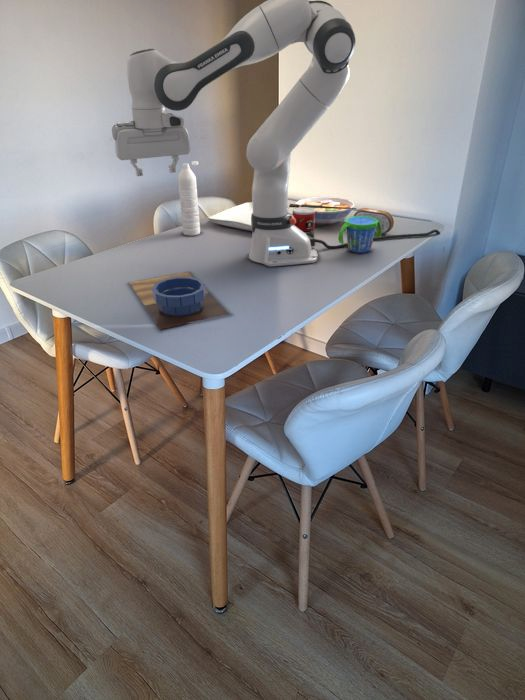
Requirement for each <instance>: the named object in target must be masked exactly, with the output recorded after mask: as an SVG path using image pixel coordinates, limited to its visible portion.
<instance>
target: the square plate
mask: <svg viewBox="0 0 525 700" xmlns="http://www.w3.org/2000/svg"><path fill="white" fill-rule="evenodd" d="M293 209H294V208H291V207H288V213H290V214H291V213H292V215H293ZM252 213H253V207H252V202H249V201H248V202H244V203H241V204H239V205H236V206H232V207H230V208H227V209H225V210H222V211H220V212H217V213H215V214H212V215H210V216H207V218H206V219H208V220H209V222H212V223H213V224H216V225H222V226H223V227H228V228H234V229H238V230H243V231H248V232H252V229H251V215H252Z"/></svg>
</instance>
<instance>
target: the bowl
mask: <svg viewBox="0 0 525 700" xmlns="http://www.w3.org/2000/svg"><path fill="white" fill-rule="evenodd" d="M192 277H193V276H192ZM192 277H174V278H169V279H164V280H162V281H160V282H158V283H156V284H155V285H154V286H153V288H152V293H153V299H154V300H155V302H156V303H157V304H158V309H159V310H161V311H162V312H163V313H164V314H167V315H171V316H185V315H190V314H193V313H195V312H196V311H198V310H199V309H201V307H202V304H203V299H204V298H205V295H206V291H207V288H206V283H205V282H204V281H203V280H202V279H200V278H196V277H193V278H192ZM173 288H174V289H173ZM192 288H193V289H192ZM168 289H169V290H168ZM166 290H167V291H166Z"/></svg>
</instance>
